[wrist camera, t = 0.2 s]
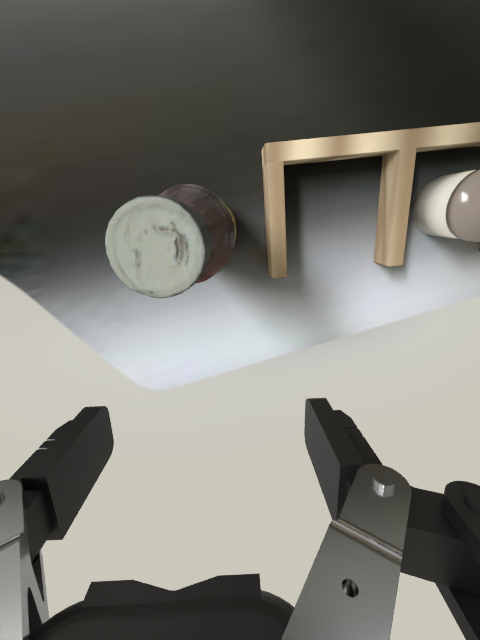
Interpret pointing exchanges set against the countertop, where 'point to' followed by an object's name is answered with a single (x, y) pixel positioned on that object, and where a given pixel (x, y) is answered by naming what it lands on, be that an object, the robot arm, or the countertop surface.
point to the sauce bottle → (170, 240)
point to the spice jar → (450, 206)
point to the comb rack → (393, 185)
